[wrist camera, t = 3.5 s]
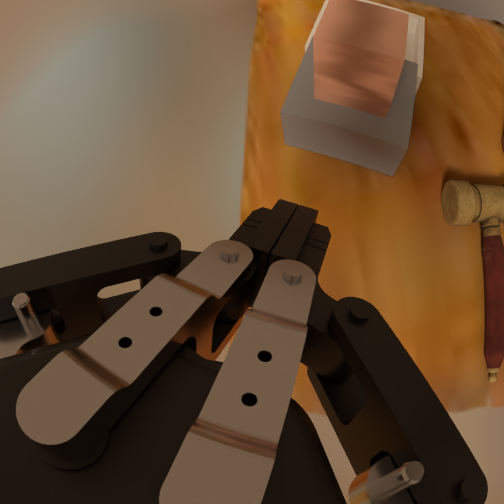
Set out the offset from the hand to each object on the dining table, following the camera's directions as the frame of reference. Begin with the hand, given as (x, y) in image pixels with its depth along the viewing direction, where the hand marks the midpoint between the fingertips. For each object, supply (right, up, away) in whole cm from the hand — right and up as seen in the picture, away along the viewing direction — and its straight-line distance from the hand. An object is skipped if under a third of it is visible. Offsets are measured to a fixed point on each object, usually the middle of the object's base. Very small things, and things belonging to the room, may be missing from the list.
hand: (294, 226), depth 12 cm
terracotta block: (+9, +16, +15) cm, 23 cm away
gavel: (+23, -4, +15) cm, 28 cm away
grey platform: (+10, +14, +21) cm, 27 cm away
